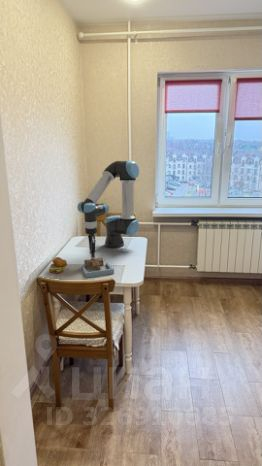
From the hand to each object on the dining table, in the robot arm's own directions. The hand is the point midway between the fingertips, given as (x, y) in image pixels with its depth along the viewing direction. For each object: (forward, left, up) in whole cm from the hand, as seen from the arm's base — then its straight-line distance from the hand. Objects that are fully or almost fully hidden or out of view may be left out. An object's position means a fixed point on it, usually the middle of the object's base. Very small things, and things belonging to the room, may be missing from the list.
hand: (93, 261), depth 215 cm
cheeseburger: (+23, +3, -2) cm, 24 cm away
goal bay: (0, +12, -2) cm, 12 cm away
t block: (0, +7, -2) cm, 7 cm away
